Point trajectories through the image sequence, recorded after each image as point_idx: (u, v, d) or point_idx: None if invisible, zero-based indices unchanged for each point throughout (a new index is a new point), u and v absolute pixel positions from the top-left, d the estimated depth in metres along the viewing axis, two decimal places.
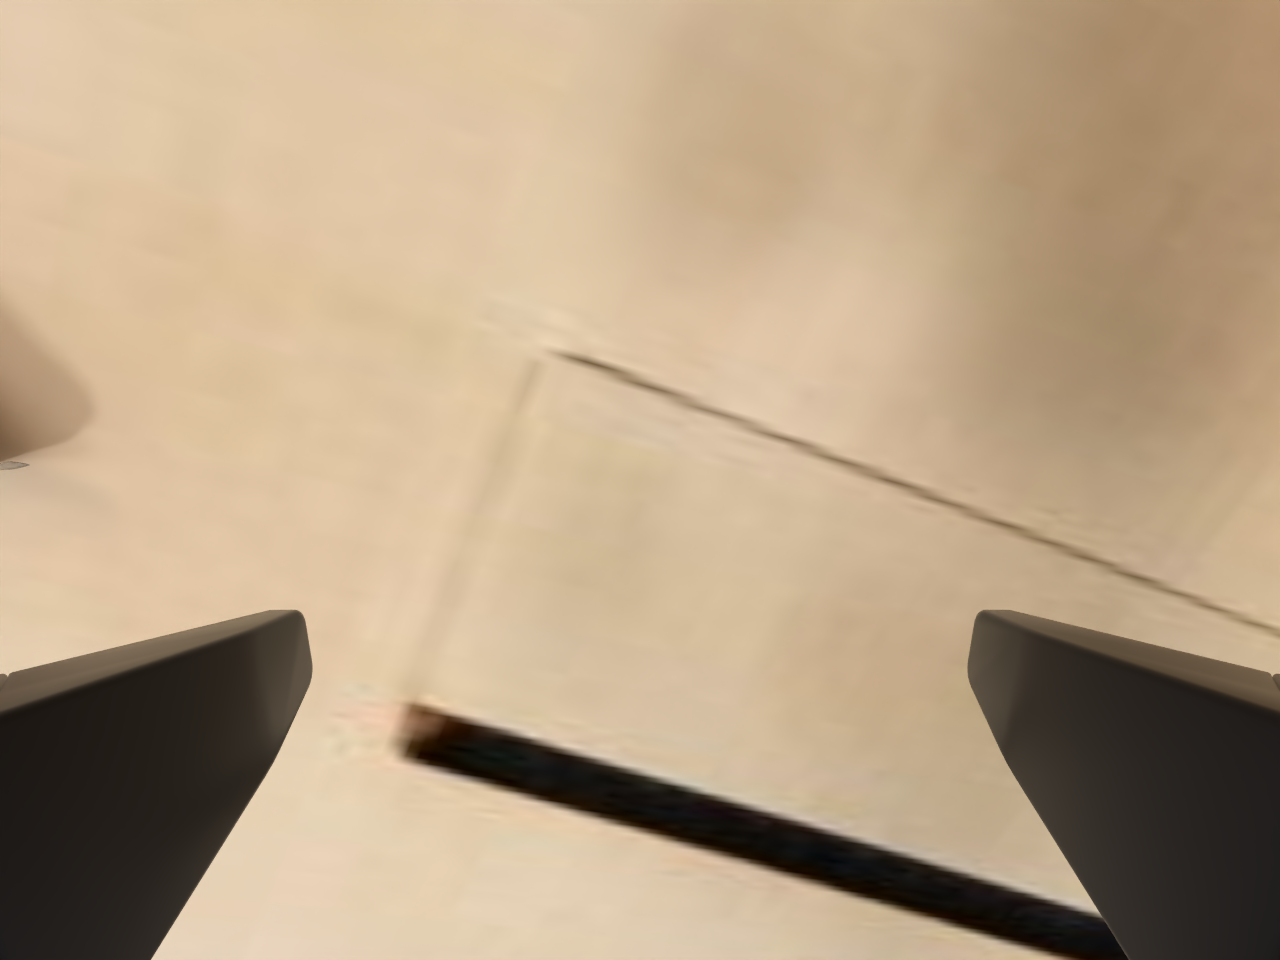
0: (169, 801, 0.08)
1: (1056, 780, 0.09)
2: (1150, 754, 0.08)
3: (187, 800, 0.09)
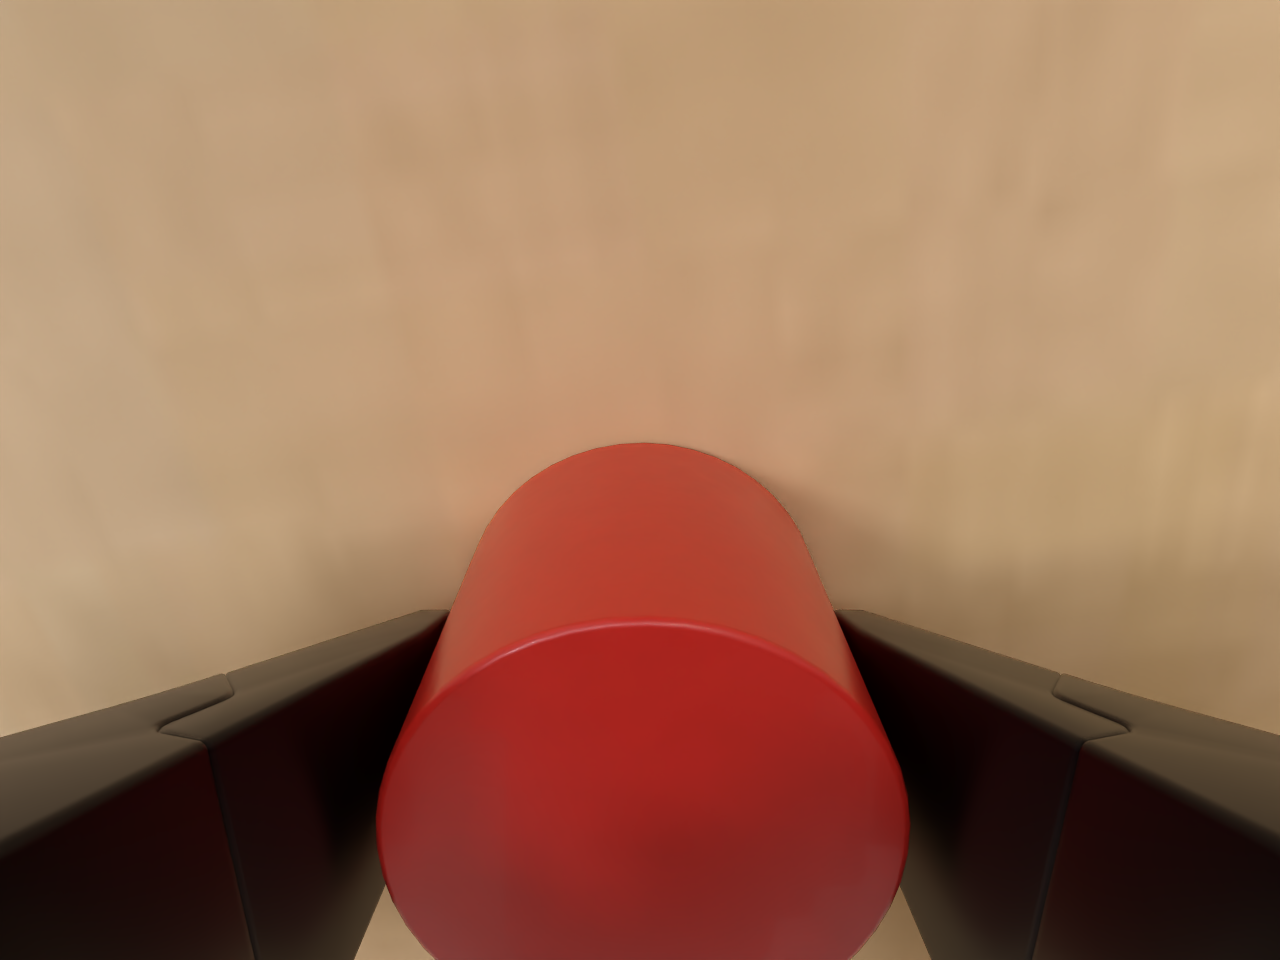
0: (368, 801, 0.08)
1: None
2: (941, 754, 0.08)
3: None
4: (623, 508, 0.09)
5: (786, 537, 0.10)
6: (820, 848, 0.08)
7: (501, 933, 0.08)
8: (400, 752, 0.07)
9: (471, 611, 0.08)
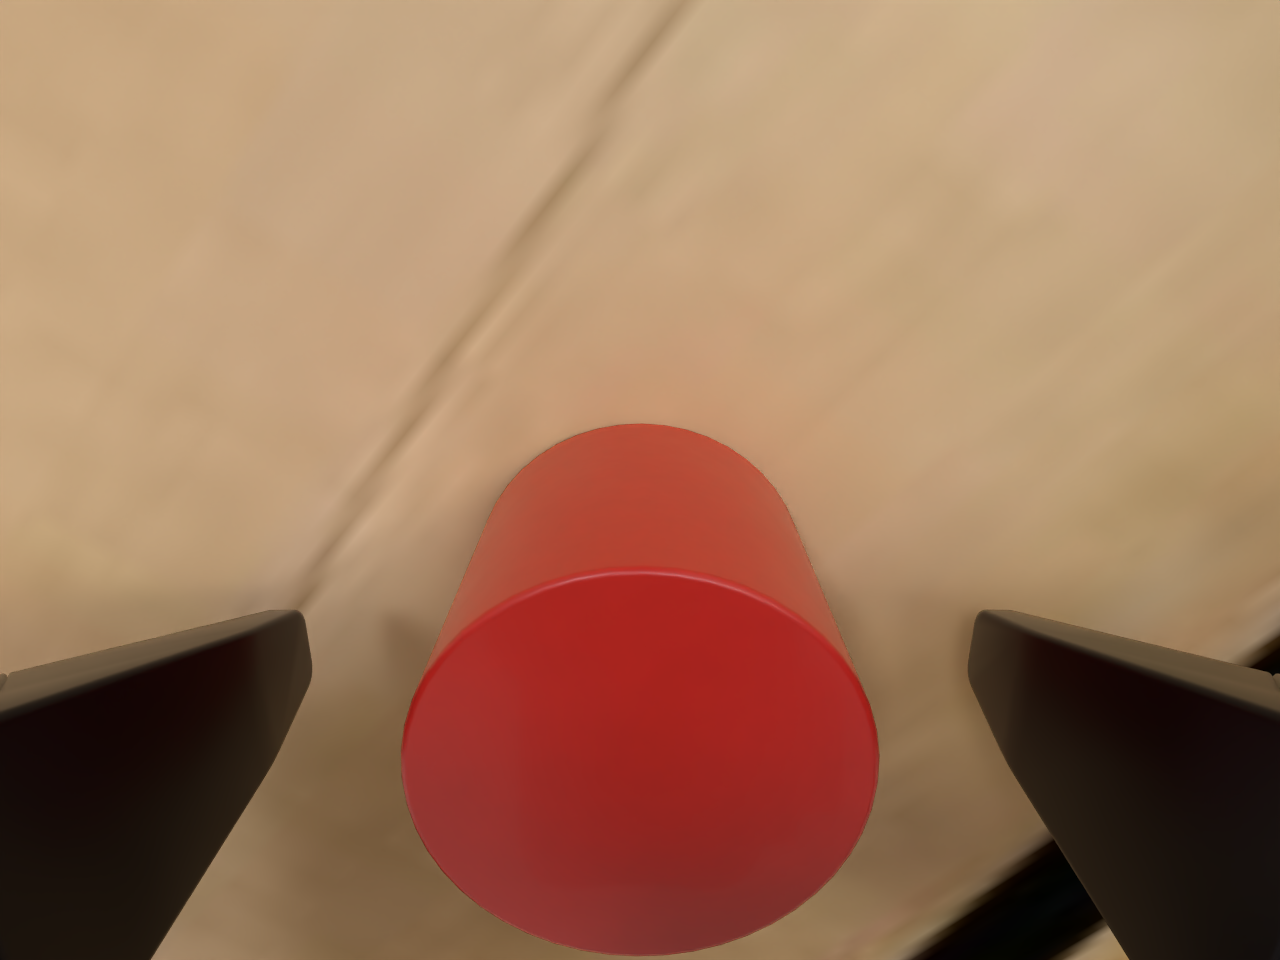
0: (168, 801, 0.08)
1: (1056, 780, 0.09)
2: (1150, 754, 0.08)
3: (186, 800, 0.09)
4: (622, 479, 0.10)
5: (772, 508, 0.11)
6: (799, 778, 0.09)
7: (513, 857, 0.09)
8: (424, 689, 0.08)
9: (485, 569, 0.09)
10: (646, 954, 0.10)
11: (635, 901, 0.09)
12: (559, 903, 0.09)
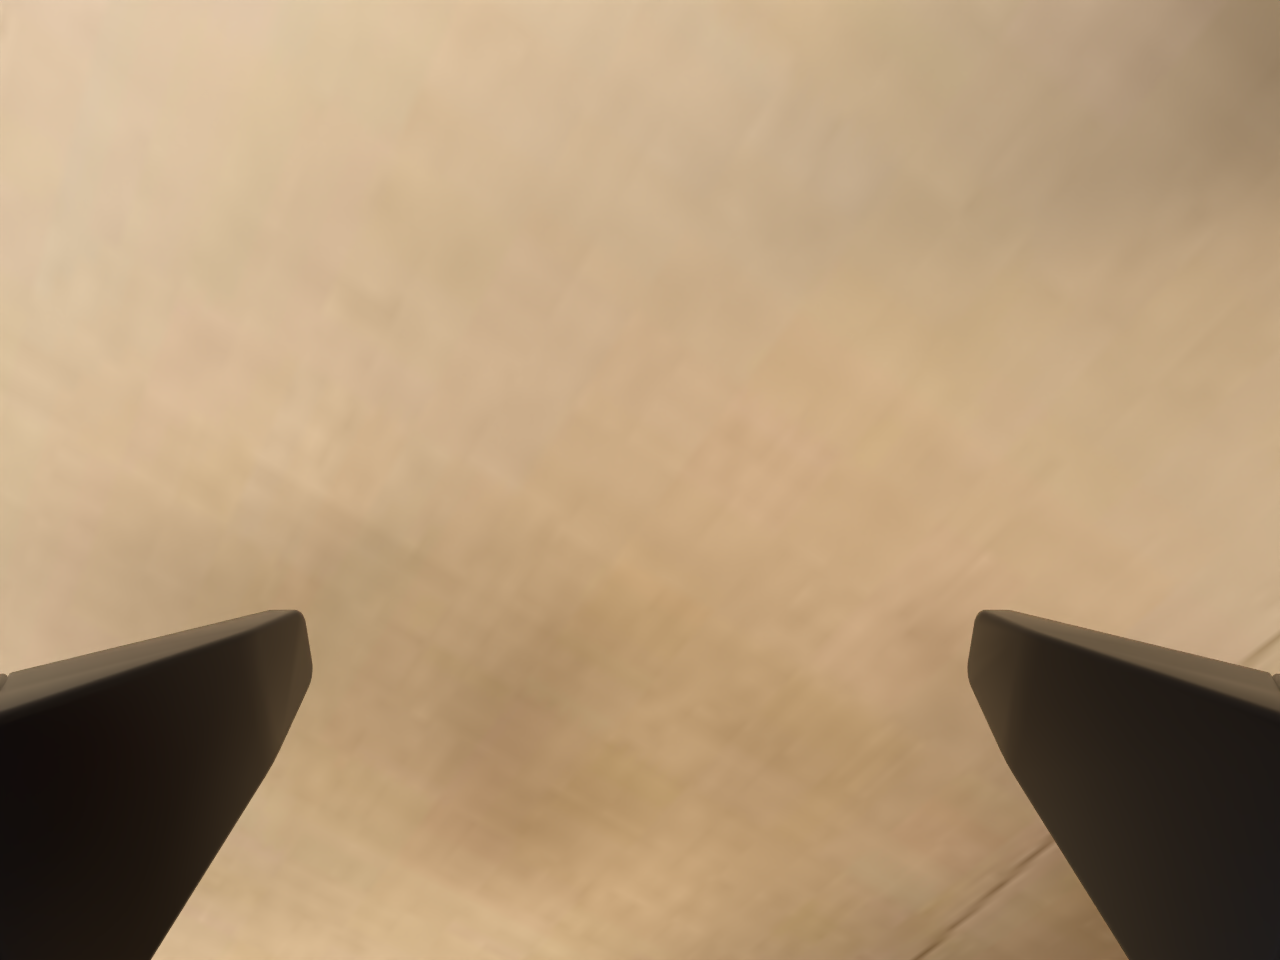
0: (169, 801, 0.08)
1: (1056, 780, 0.09)
2: (1150, 754, 0.08)
3: (187, 800, 0.09)
4: None
5: None
6: None
7: None
8: None
9: None
10: None
11: None
12: None
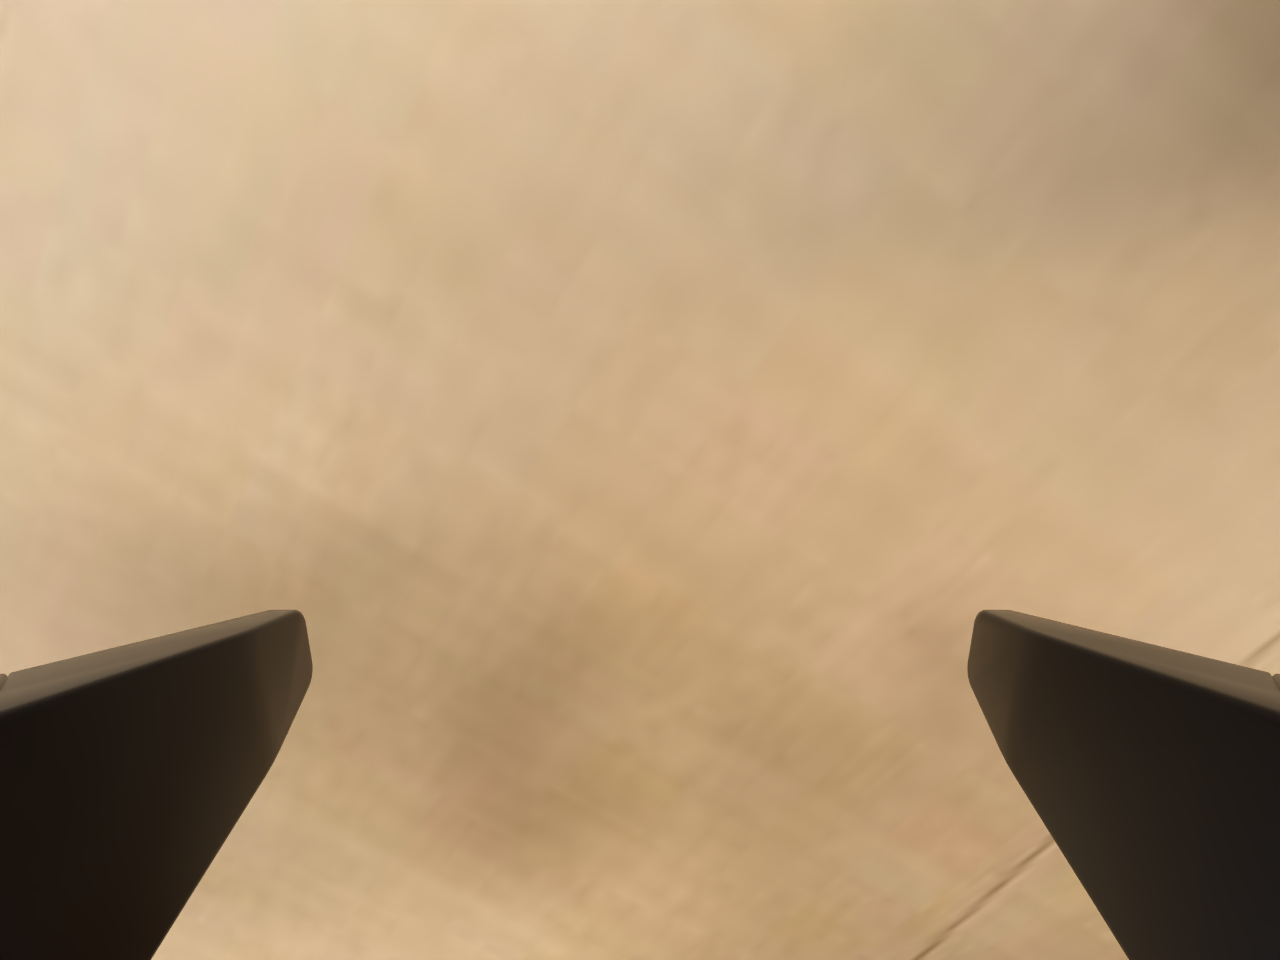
0: (169, 801, 0.08)
1: (1056, 780, 0.09)
2: (1150, 754, 0.08)
3: (187, 800, 0.09)
4: None
5: None
6: None
7: None
8: None
9: None
10: None
11: None
12: None
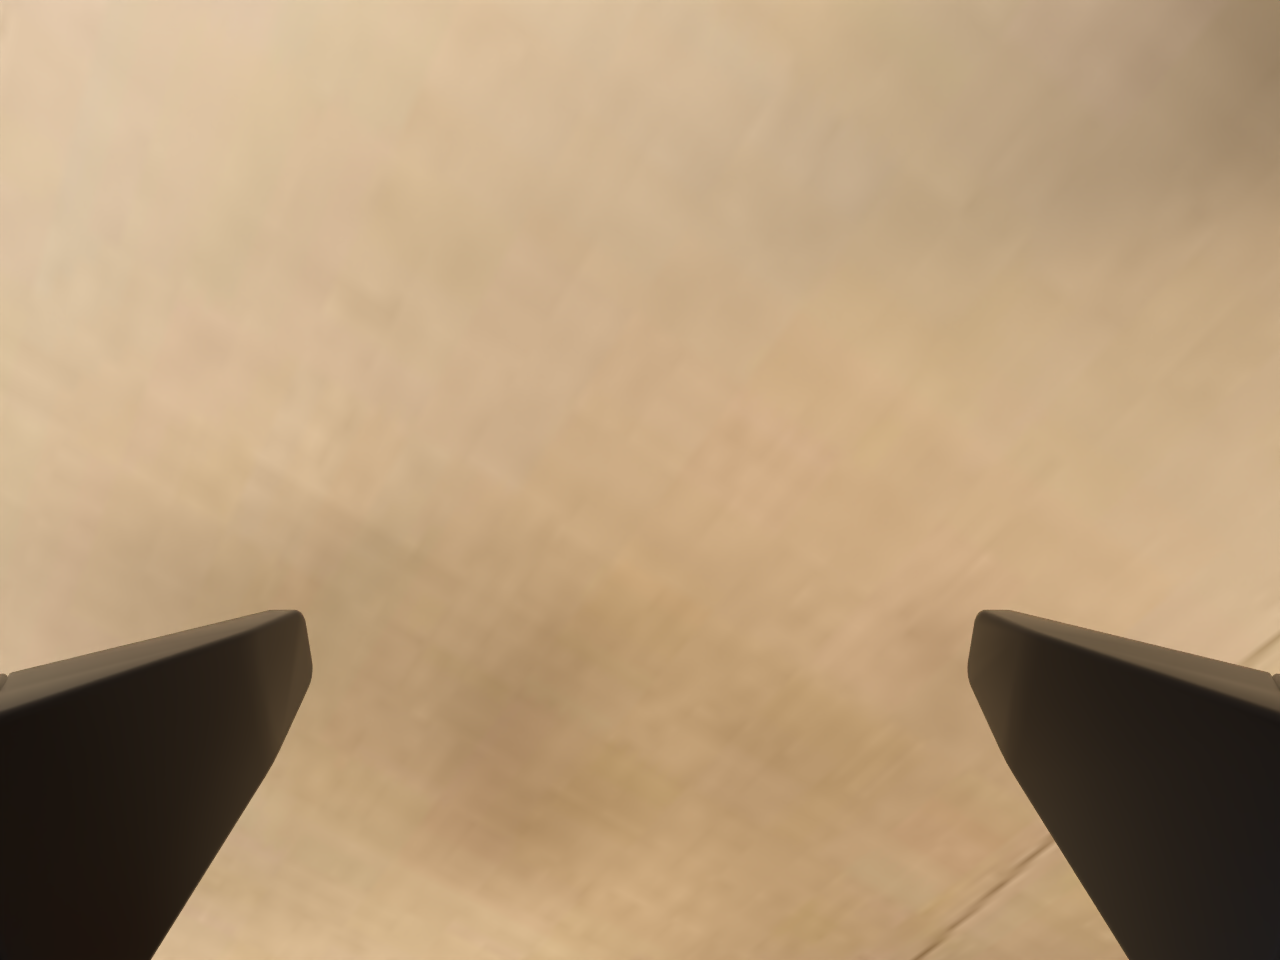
0: (169, 801, 0.08)
1: (1056, 780, 0.09)
2: (1150, 754, 0.08)
3: (187, 800, 0.09)
4: None
5: None
6: None
7: None
8: None
9: None
10: None
11: None
12: None
